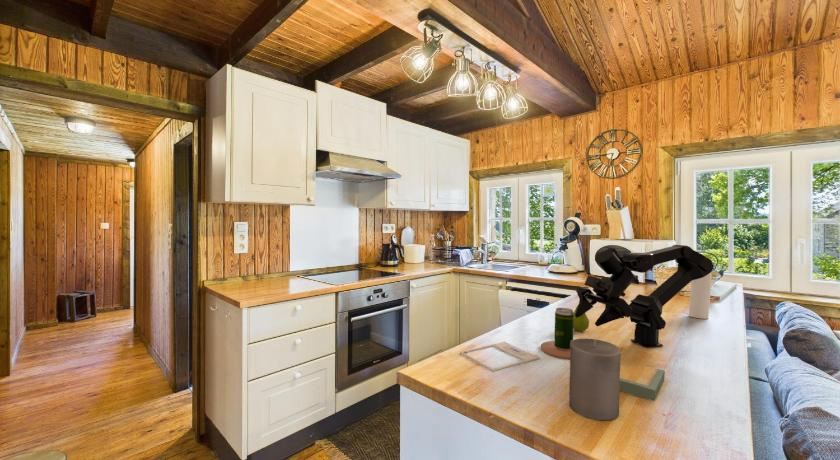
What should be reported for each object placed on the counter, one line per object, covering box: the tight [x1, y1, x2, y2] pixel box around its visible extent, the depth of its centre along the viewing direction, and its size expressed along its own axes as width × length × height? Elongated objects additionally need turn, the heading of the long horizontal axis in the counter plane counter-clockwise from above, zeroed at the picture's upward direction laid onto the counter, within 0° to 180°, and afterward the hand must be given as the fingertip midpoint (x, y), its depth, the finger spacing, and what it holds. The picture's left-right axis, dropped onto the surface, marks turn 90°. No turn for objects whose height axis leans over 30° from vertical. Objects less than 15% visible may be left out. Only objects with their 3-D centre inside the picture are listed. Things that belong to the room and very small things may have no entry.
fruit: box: [573, 303, 590, 332], centre depth 128 cm, size 6×6×12 cm
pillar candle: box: [568, 338, 621, 421], centre depth 75 cm, size 10×10×15 cm
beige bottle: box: [688, 272, 713, 320], centre depth 148 cm, size 7×12×25 cm, turn 131°
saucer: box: [540, 340, 570, 360], centre depth 108 cm, size 13×13×1 cm
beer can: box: [553, 307, 575, 351], centre depth 108 cm, size 5×5×12 cm
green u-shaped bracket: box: [620, 368, 666, 402], centre depth 90 cm, size 14×17×2 cm
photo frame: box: [459, 341, 541, 373], centre depth 104 cm, size 15×1×18 cm
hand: (585, 320), depth 110 cm, fingers open, 9 cm apart
